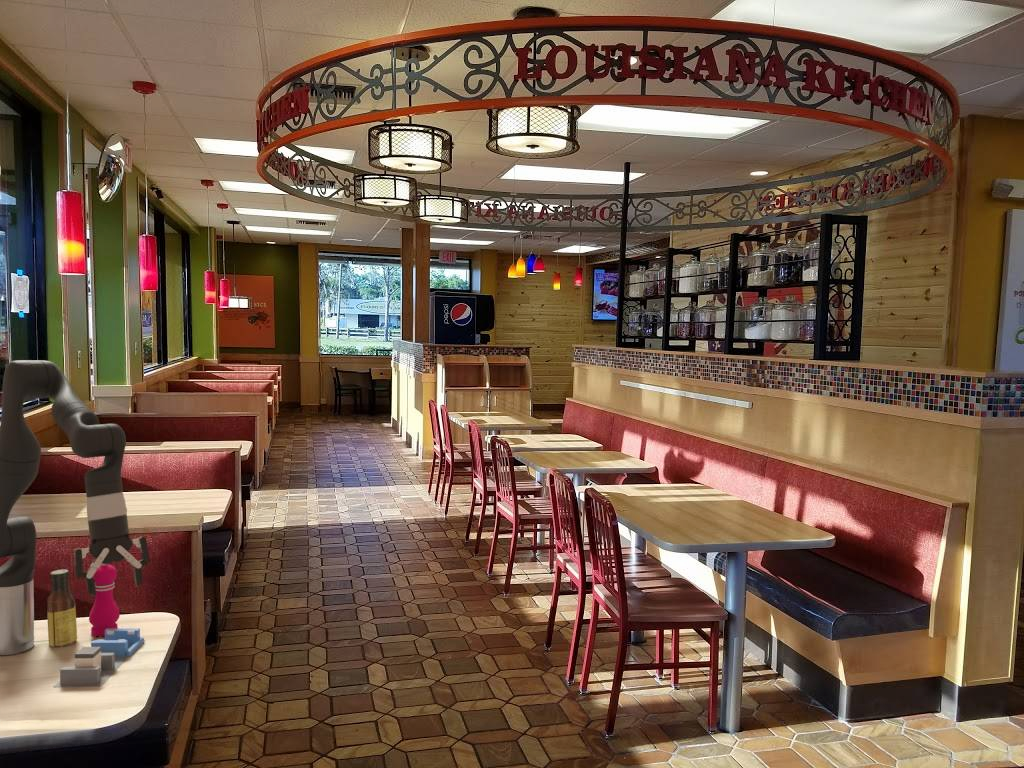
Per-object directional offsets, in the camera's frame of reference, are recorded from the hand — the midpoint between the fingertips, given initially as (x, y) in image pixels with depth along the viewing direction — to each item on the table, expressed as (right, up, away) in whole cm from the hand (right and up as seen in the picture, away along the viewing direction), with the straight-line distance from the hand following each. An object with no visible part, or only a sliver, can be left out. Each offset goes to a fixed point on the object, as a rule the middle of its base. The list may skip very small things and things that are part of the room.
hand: (116, 590), depth 164 cm
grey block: (-12, -23, +12) cm, 28 cm away
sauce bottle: (-29, -23, +30) cm, 47 cm away
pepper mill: (-24, -22, +40) cm, 52 cm away
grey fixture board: (-13, -24, +19) cm, 33 cm away
